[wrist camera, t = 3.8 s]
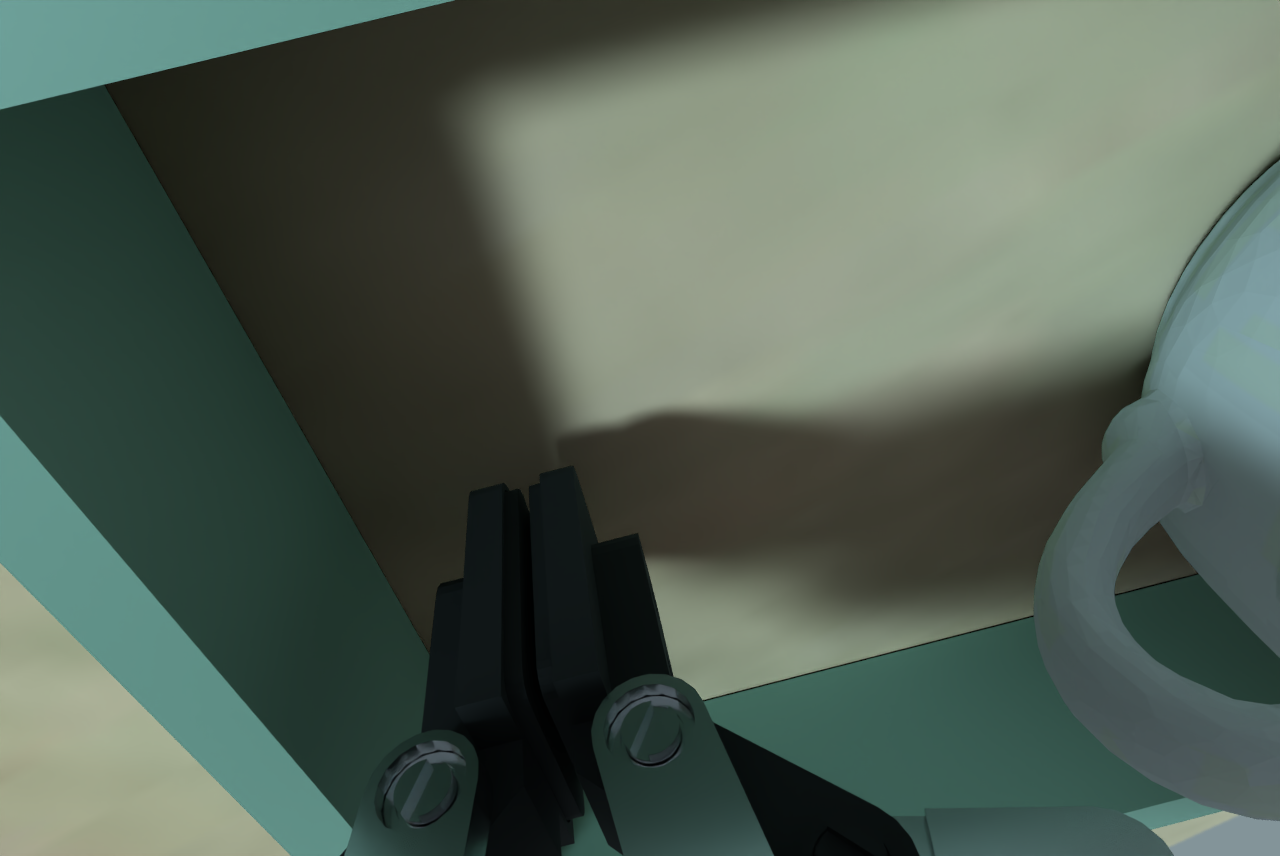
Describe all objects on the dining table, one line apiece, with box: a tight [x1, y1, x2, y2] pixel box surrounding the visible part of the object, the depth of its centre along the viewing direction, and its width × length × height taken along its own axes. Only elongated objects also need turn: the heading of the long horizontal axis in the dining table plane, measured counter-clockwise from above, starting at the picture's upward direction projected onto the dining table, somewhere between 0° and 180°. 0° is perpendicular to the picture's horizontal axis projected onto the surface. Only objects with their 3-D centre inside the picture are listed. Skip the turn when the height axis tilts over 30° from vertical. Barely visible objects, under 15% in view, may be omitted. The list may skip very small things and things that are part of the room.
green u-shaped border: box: [0, 0, 1280, 856], centre depth 11 cm, size 17×26×4 cm, turn 101°
